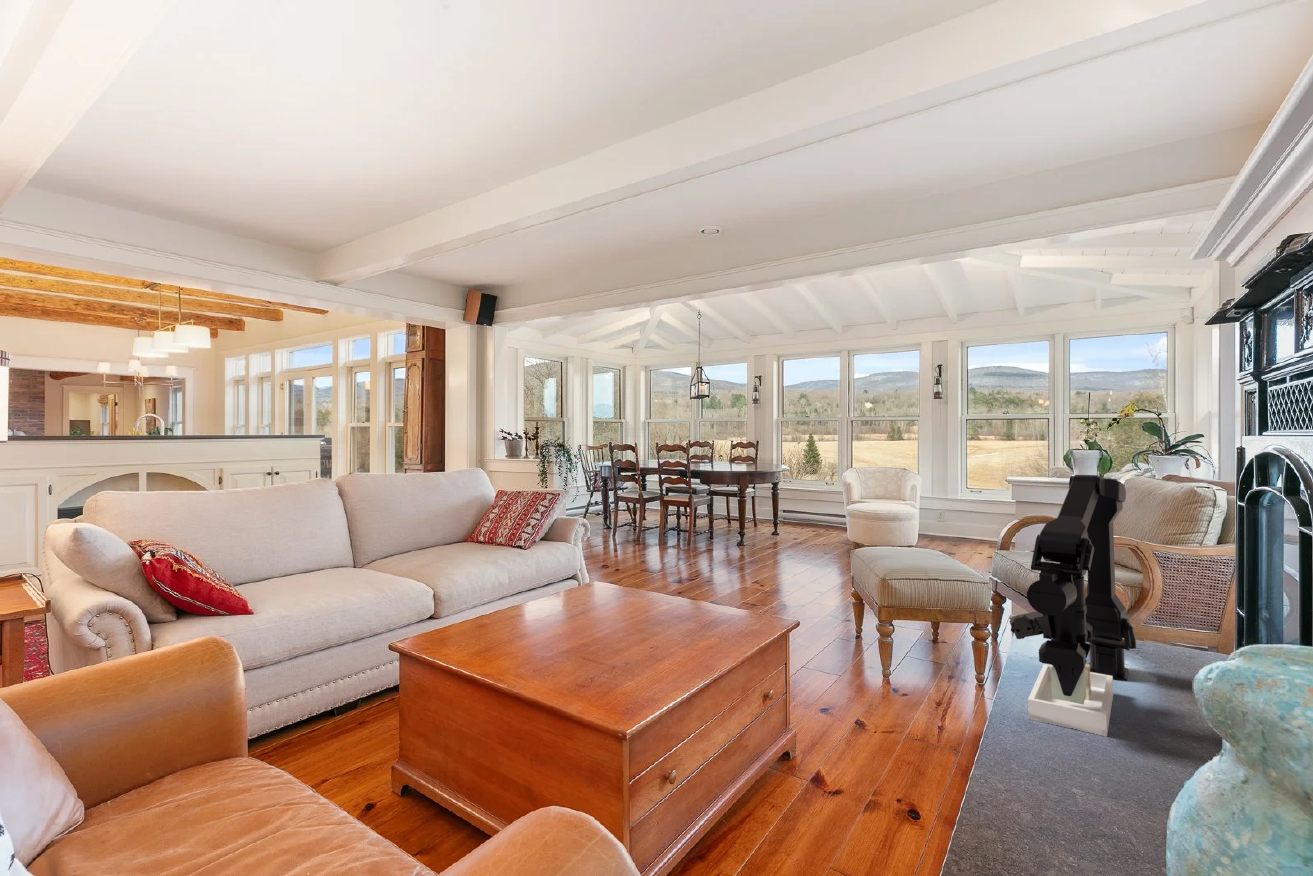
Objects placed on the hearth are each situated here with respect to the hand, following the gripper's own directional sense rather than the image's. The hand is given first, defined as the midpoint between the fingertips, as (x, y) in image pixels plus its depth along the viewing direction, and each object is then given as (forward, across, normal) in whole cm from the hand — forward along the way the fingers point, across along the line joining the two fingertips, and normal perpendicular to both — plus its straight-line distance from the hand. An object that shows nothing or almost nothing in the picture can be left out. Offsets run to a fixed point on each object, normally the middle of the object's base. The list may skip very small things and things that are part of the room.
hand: (1068, 690), depth 108 cm
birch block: (+4, -8, 0) cm, 9 cm away
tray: (+4, -4, 0) cm, 6 cm away
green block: (+1, 0, 0) cm, 1 cm away
